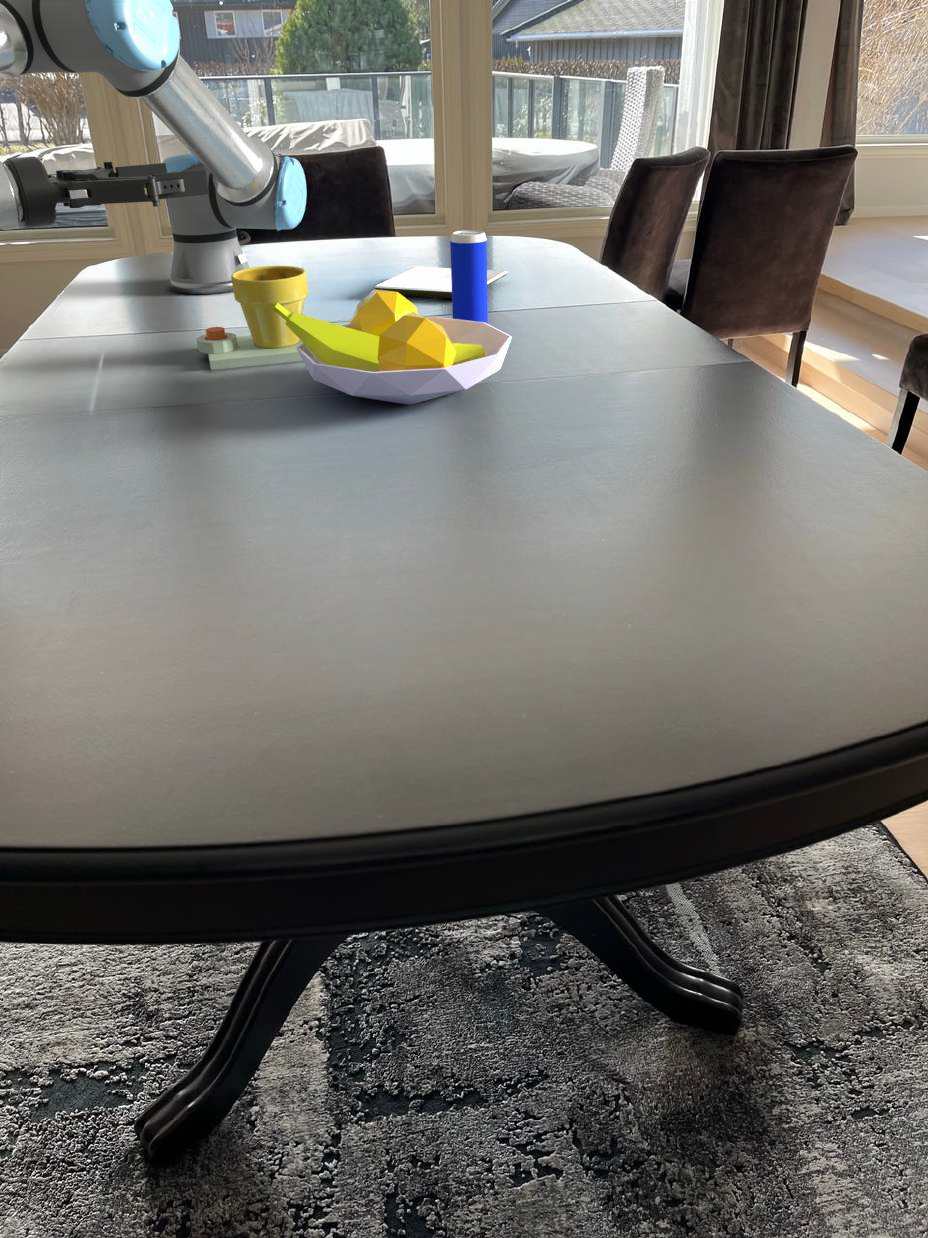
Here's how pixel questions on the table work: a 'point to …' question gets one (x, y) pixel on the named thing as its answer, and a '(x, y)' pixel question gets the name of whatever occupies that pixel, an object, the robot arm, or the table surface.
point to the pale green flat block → (243, 352)
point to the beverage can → (469, 275)
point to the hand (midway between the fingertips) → (186, 177)
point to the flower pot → (270, 301)
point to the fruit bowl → (397, 350)
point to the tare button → (215, 333)
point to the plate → (428, 282)
